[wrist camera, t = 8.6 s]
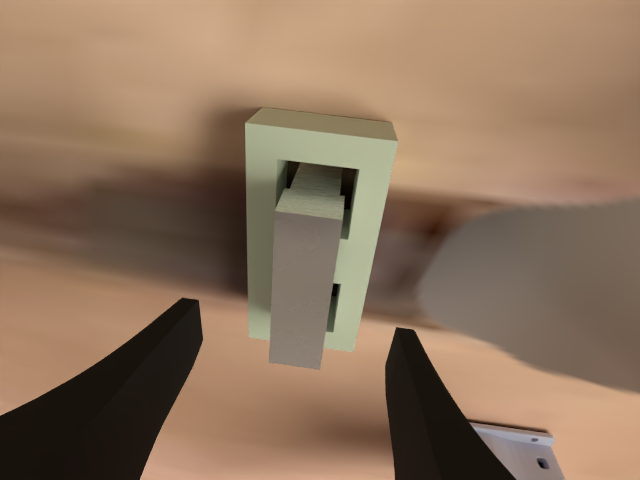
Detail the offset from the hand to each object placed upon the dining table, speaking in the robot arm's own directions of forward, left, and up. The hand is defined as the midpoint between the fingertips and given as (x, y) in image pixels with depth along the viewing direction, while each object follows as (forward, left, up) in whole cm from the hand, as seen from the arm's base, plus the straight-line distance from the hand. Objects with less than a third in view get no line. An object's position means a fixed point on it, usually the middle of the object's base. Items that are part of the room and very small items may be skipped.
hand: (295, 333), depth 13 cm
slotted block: (0, 0, -8) cm, 8 cm away
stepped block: (0, 0, -8) cm, 8 cm away
